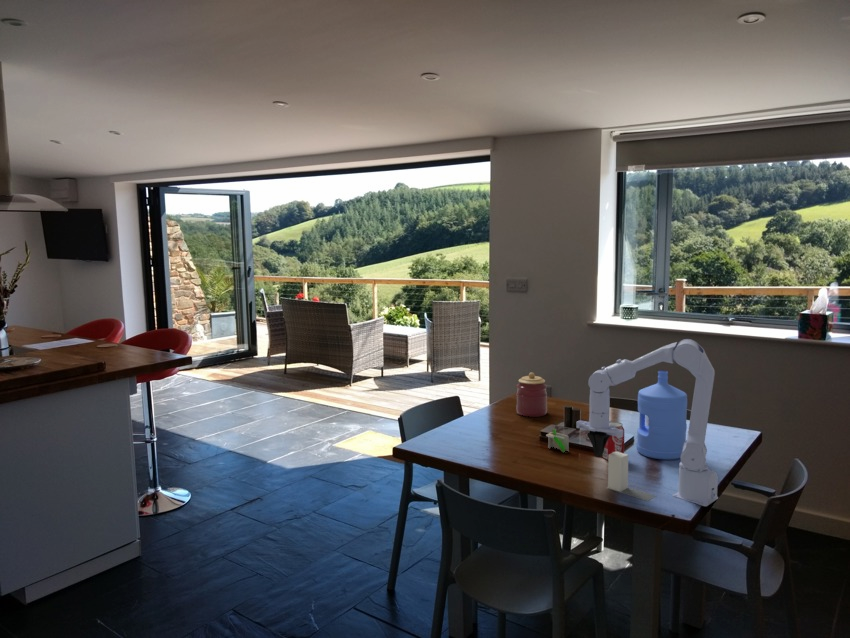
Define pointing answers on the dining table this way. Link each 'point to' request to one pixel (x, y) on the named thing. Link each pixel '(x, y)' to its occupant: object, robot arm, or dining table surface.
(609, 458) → the cream block
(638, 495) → the rubber mat
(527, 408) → the canister
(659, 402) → the water jug
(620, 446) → the soda can
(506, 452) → the dining table surface
